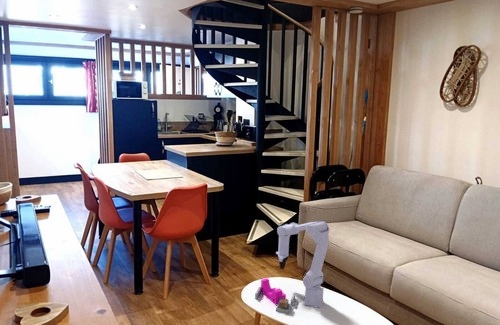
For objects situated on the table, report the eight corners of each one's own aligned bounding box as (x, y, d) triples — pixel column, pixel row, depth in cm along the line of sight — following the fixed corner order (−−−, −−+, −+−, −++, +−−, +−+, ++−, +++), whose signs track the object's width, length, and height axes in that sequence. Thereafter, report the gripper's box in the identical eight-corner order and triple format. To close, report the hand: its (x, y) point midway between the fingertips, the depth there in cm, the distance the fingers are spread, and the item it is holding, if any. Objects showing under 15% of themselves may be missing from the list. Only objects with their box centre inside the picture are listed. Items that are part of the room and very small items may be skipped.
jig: (294, 298, 211) (295, 293, 210) (289, 313, 196) (289, 308, 196) (259, 291, 216) (259, 286, 216) (251, 306, 202) (251, 300, 201)
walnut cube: (288, 306, 202) (288, 299, 201) (286, 310, 198) (286, 303, 197) (280, 305, 203) (280, 298, 202) (278, 309, 199) (279, 302, 198)
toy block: (285, 302, 206) (286, 289, 205) (275, 305, 203) (276, 292, 202) (270, 289, 219) (270, 277, 218) (260, 292, 216) (261, 279, 215)
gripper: (279, 240, 228) (278, 262, 231) (273, 249, 215) (272, 272, 217) (291, 242, 227) (290, 264, 229) (286, 251, 213) (285, 275, 215)
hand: (282, 268), depth 223 cm, fingers closed
